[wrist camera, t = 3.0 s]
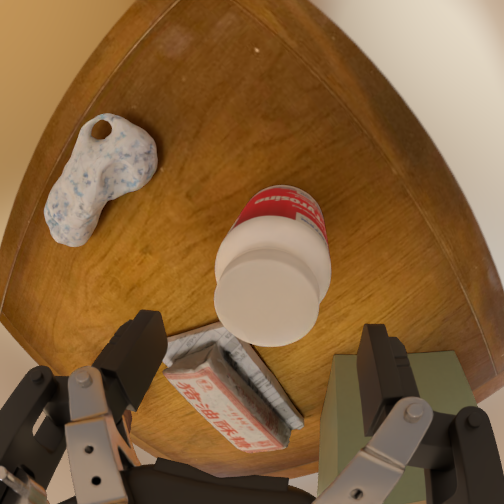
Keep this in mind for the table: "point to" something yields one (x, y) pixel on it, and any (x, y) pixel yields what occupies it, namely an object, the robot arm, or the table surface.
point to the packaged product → (231, 388)
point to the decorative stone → (98, 177)
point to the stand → (351, 420)
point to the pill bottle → (273, 268)
